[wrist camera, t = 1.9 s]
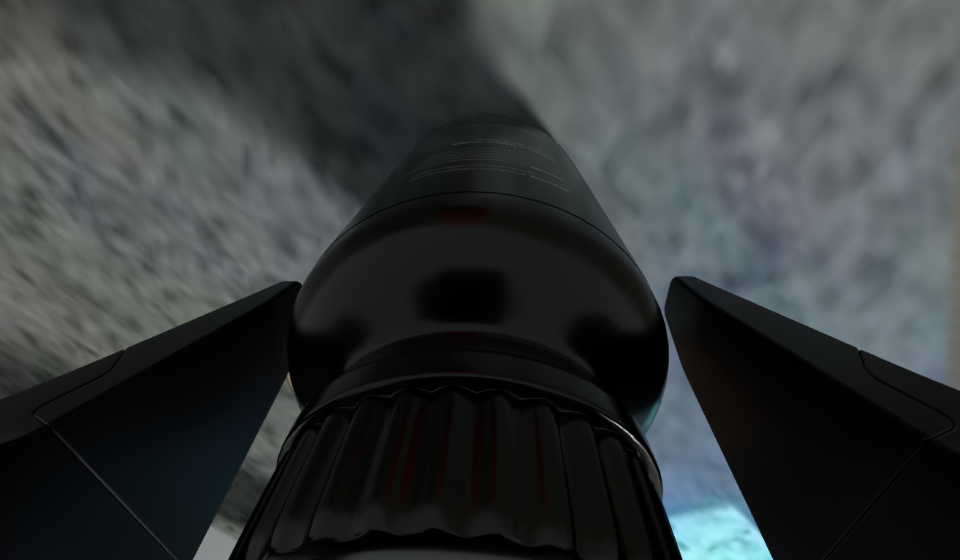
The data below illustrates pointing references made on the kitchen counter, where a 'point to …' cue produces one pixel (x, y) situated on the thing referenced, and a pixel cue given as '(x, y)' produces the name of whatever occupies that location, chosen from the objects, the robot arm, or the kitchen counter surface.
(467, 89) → the kitchen counter surface
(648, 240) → the kitchen counter surface
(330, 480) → the supplement bottle
